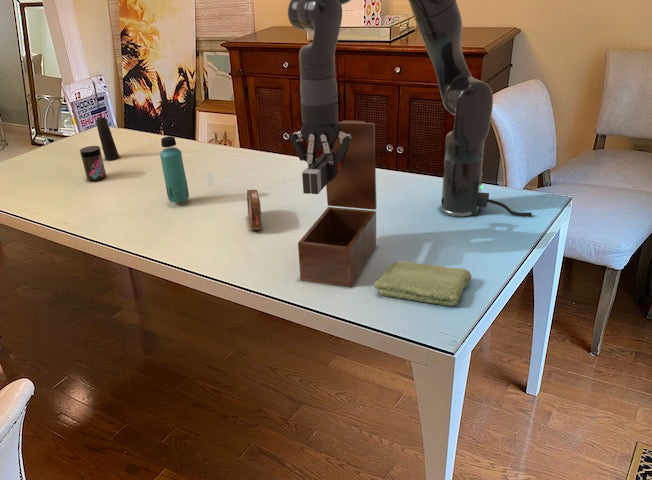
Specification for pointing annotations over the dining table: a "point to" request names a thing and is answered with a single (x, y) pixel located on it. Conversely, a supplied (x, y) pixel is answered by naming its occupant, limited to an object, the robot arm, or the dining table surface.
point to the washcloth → (424, 283)
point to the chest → (337, 246)
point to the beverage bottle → (173, 171)
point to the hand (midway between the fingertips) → (322, 179)
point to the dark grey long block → (317, 175)
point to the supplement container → (93, 163)
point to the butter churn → (105, 136)
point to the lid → (355, 169)
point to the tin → (254, 209)
